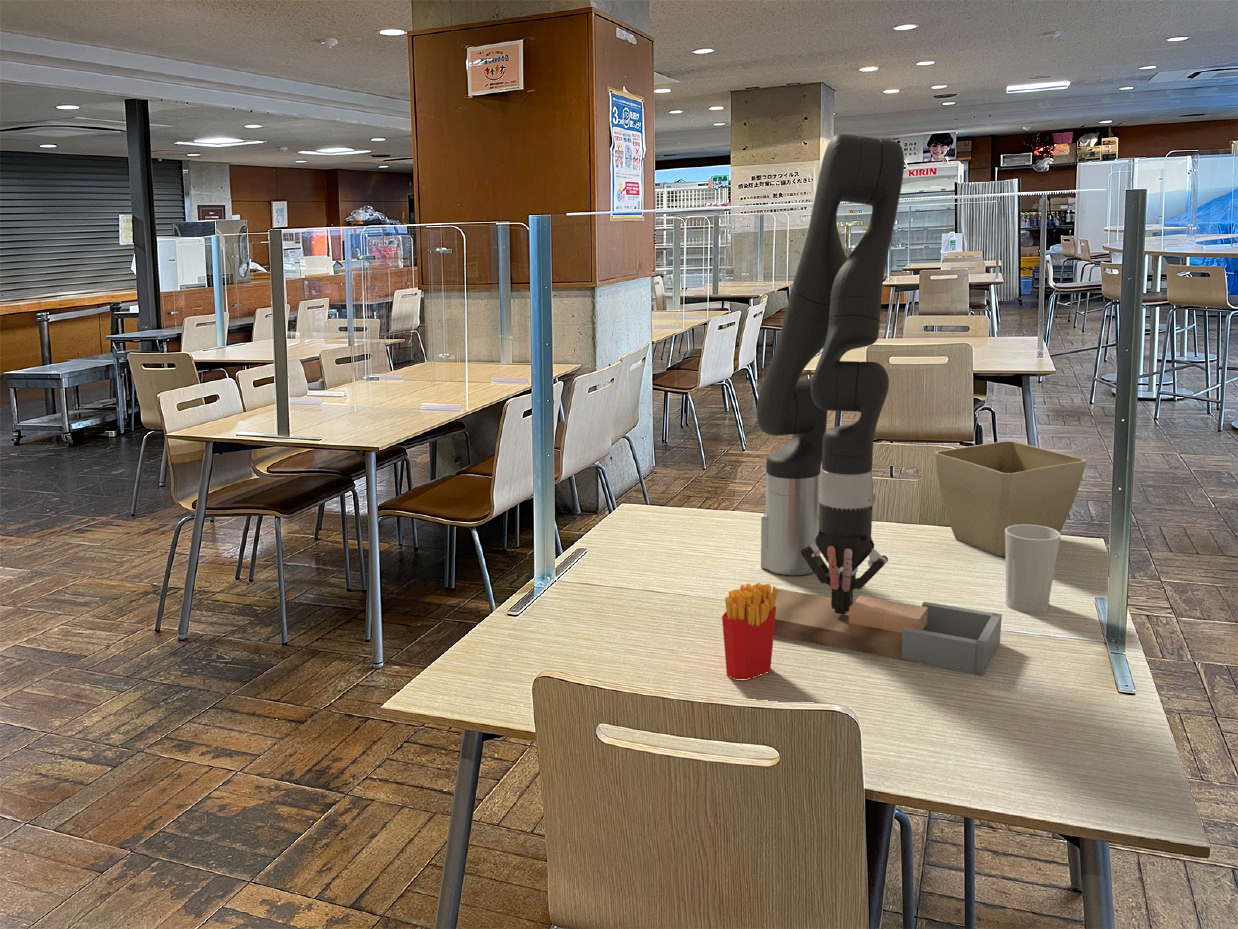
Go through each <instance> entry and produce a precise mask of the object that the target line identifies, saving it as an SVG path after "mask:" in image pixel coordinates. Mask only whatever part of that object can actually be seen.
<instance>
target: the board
mask: <svg viewBox="0 0 1238 929" xmlns="http://www.w3.org/2000/svg"><path fill="white" fill-rule="evenodd" d="M777 590H778V592H777V597H776V601H775V605H774V606H776V615H775V626H774V636H777V637H783V638H789V639H794V640H799V641H803V642H808V643H814V644H819V645H825V646H829V647H835V648H839V649H843V650H844V649H845V650H848V651H850V650H851V651H855V652H859V653H865V654H870V655H875V656H878V657H879V656H881V657H885V658H889V657H890V658H891V659H895V660H901V646H902V633H900V632H894V631H889V630H883V629H879V628H873V627H868V626H862V625H857V624H851V623H849V611H848V612H847V613H846V614H845V615H844V614H838V613H835V609H832V606H831V602H832V601H831V598H832V597H828V596H823V595H817V594H811V593H805V592H798V591H796V590H795V591H793V590H788V589H784V588H783V589H782V588H777ZM853 603H854V601H853ZM901 661H902V660H901Z"/></svg>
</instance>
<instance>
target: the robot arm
mask: <svg viewBox="0 0 1238 929" xmlns="http://www.w3.org/2000/svg"><path fill="white" fill-rule="evenodd" d="M904 157H905V154H904V149H903V148H902V146H901V144H900V143H899V142H897V141H895V140H892V139H886V138H880V137H879V138H877V137H872V136H862V135H857V134H848V133H847V134H846V133H837V134H836V135H834V136H833V137H832V138H831V139H830V141H829V143H827V147H826V148H825V152H824V155H823V159H822V162H821V166H820V172H819V175H818V178H817V180H818V181H817V185H816V190H815V195H814V201H813V206H812V211H811V215H810V221H809V225H808V231H807V233H806V237H805V241H804V245H803V249H802V253H801V256H800V258H799V263H798V266H797V269H796V272H795V276H794V278H793V283H792V286H791V290H790V293H789V297H788V299H787V300H788V301H787V305H786V310H785V315H784V319H783V323H782V325H781V330H780V334H779V336H778V340H777V344H776V347H775V349H774V352H773V355H772V358H771V361H770V363H769V365H768V368H767V371H766V373H765V374H764V375H765V376H764V378H763V381H762V383H761V386H760V389H759V394H758V398H757V401H756V420H757V423H758V426H759V428H760V430H762V432H763V433H765V434H767V435H769V436H791V435H792V437H791V438H790V439H789V441H788V442H787V443H786V444H785V445H783V446H781V448H778V449H776V450H775V451H773V452H771V453H769V455H768V456H767V458H766V462H765V465H766V466H765V467H766V468H765V472H766V475H765V476H766V478H765V480H766V481H765V513H764V514H762V515H761V519H760V520H761V522H760V524H761V525H760V528H761V529H760V530H761V531H760V540H761V541H760V568H761V569H766V570H767V571H769V572H772V573H774V574H779V575H785V576H803V575H809V574H814V575H815V577H816V578H817V579H818V581H819V583H820V584H826V585H828V586H829V587H830V589H831V597H830V598H831V601H832V602H831V606H832V609H835V613H838V614H844V615H845V614H846V613H847V612H848V611H849V607H850V606H851V605H852V604H853V602H854V591H855V590H857V591H858V590H861V589H862V588H863V587H864V586H865V585H866V584H867V583H868V582H869V581H871V579H873V577H874V576H875V575H876V574H877V573H878V572H879V571H880V570H881V569H882V568H883V567H884V566H885V565H886V564H887V563H888V562H889V558H888V557H887V556H886V555H881V554H880V552H878V551H877V550H876V549H875V543H874V540H873V538H872V528H873V527H872V524H873V523H872V522H873V504H874V497H875V496H874V495H875V494H874V480H873V452H874V439H875V433H876V429H877V425H878V421H879V418H880V415H881V412H882V409H883V406H884V404H885V401H886V398H887V396H888V392H889V387H890V382H889V380H890V377H889V374H888V372H887V370H886V369H885V367H884V366H883V365H882V364H880V363H878V362H875V361H857V360H856V361H854V360H853V361H851V360H849V361H847V360H845V361H844V360H841V359H842V357H843V356H844V355H845V354H846V353H847V352H849V351H852V350H854V349H855V350H856V349H860V348H865V347H869V346H872V345H874V344H875V343H876V342H877V340H878V338H879V334H880V325H881V324H880V322H881V308H882V307H881V306H882V293H883V292H882V291H883V284H884V275H885V269H886V265H887V261H888V254H889V250H890V246H891V242H892V236H893V232H894V228H895V222H896V218H897V212H898V207H899V202H900V196H901V191H902V185H903V178H904V171H905V158H904ZM842 202H843V203H844V202H845V203H851V204H859V205H860V204H861V205H868V206H871V207H872V210H871V215H870V216H871V217H870V220H869V224H868V227H867V228H866V231H865V233H864V235H863V236H862V238H861V239H860V241H859V242H858V244H857V245H856V246H855V248H854V249H853V251H852V252H851V253H850V254H849V256H848V257H847V255H846V252H845V249H844V247H843V244H842V242H841V238H840V237H841V236H840V234H839V229H838V223H837V222H838V221H837V219H838V218H837V216H838V209H839V206H840V203H842ZM819 352H821V355H820V356H819V359H818V362H817V365H816V367H815V369H814V372H813V375H812V378H800V377H801V375H802V374H803V372H804V370H805V369H806V367H807V366H808V364H809V363H810V362H811V361H812V360H813V359H815V357H816V356H817V355H818V354H819ZM830 411H831V412H853V413H854V412H855V413H856V412H857V413H860V417H859V419H857V420H856V421H854V422H853V423H850V424H846V425H845V424H844V425H839V426H834V427H831V428H828V429H827V422H828V412H830ZM821 554H822V556H823V557H822V556H821ZM868 557H869V559H868V561H867V564H868V566H869V568H867V569H866V571H865V572H864V573H863V574H862V575H861V576H860V577H857V573H858V569H859V566H860V565H862V563H863V562H864V561H865V560H866V559H867V558H868ZM823 558H824V559H823ZM824 560H825V561H826V562H827V563H826V562H825V561H824ZM827 564H828V565H827ZM856 577H857V578H856Z"/></svg>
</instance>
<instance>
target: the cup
mask: <svg viewBox="0 0 1238 929" xmlns="http://www.w3.org/2000/svg"><path fill="white" fill-rule="evenodd" d="M1060 541H1061V532H1060V533H1059V532H1058V531H1057V530H1054V529H1052V528H1048V527H1044V526H1038V525H1013V526H1009V527H1007V528H1006V529H1005V551H1006V556H1005V605H1006V607H1007V608H1010V609H1011V610H1015V611H1017V612H1021V613H1031V614H1035V613H1037V614H1038V613H1039V614H1040V613H1044V612H1046V611H1048V610H1049V606H1050V597H1051V592H1052V586H1053V580H1054V575H1055V569H1056V562H1057V557H1058V552H1059V546H1060Z"/></svg>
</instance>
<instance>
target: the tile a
mask: <svg viewBox="0 0 1238 929" xmlns="http://www.w3.org/2000/svg"><path fill="white" fill-rule="evenodd" d="M853 602H854V603H853V604H852V605H851V606H850V607H849V623H851V624H857V625H862V626H868V627H873V628H879V629H883V618H884V612H885V611H886V610H887V609H888V607H889V606H890V605H891V604H892V602H894V601H893V600H887V599H882V598H875V597H870V596H866V595H865V596H864V595H859V596H858V597H857V598H856V599H855V600H853Z"/></svg>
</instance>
